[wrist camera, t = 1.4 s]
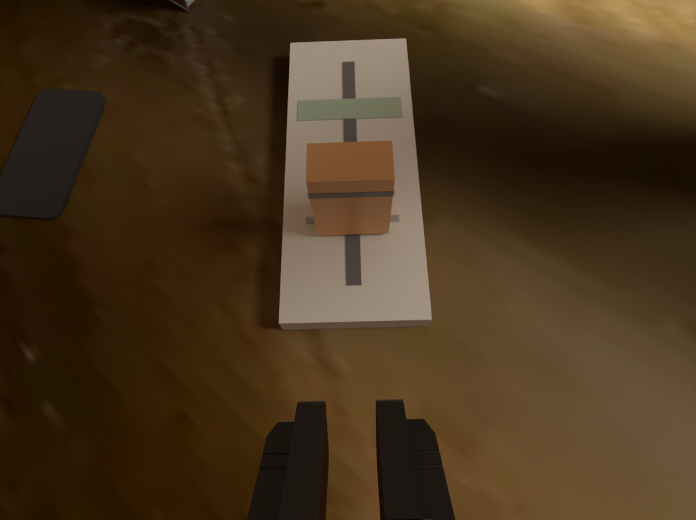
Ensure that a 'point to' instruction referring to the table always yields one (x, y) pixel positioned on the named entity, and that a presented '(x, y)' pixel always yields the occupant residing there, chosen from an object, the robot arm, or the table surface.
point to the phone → (49, 153)
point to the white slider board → (406, 213)
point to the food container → (186, 4)
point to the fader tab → (350, 186)
